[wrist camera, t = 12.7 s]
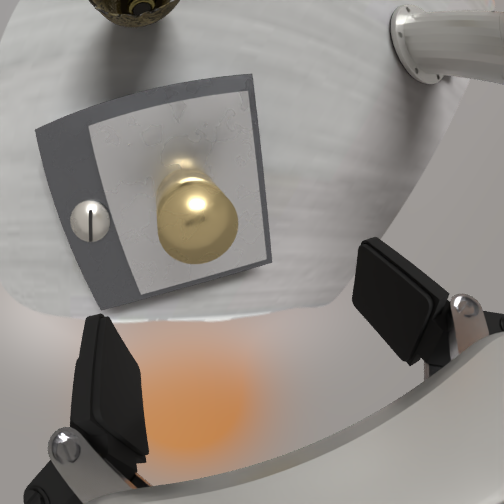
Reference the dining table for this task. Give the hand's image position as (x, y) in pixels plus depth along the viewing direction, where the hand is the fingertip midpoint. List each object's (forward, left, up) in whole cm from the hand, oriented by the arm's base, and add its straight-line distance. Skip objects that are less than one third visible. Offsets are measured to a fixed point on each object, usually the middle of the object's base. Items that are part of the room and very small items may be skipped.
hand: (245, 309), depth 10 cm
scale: (+2, 0, -19) cm, 19 cm away
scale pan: (0, 0, -15) cm, 15 cm away
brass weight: (0, 0, -14) cm, 14 cm away
